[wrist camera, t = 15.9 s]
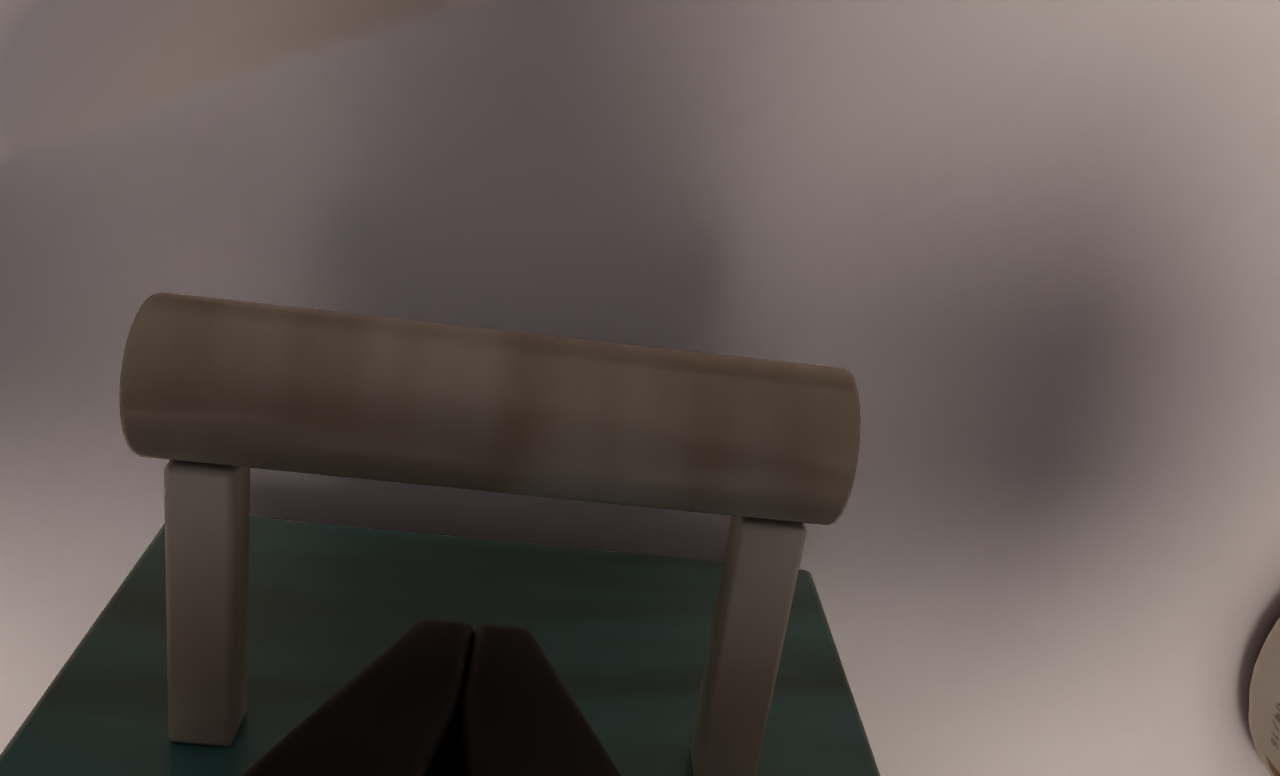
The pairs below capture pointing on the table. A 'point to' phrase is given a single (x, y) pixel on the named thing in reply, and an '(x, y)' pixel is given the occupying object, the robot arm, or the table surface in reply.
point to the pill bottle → (1267, 702)
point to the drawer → (461, 541)
